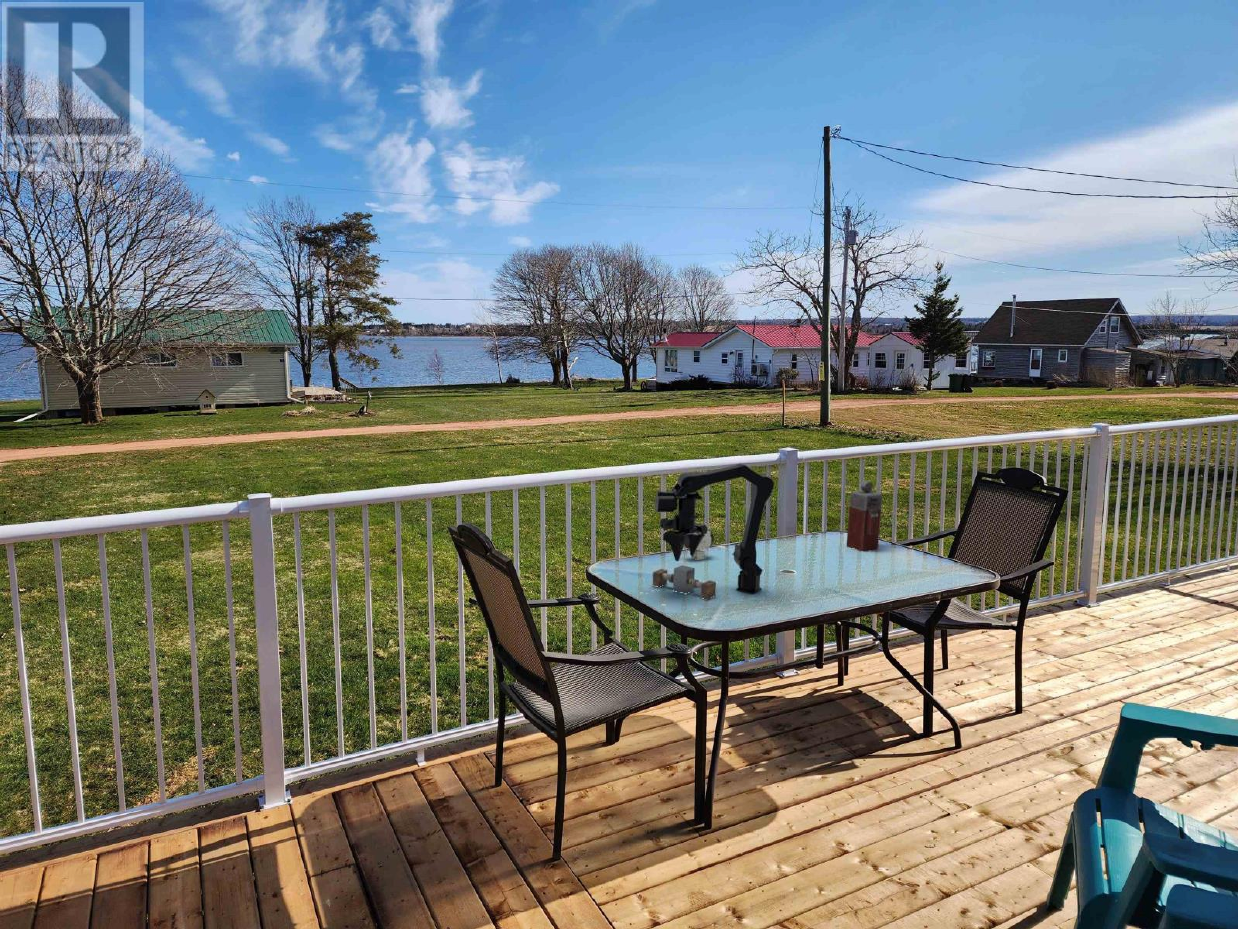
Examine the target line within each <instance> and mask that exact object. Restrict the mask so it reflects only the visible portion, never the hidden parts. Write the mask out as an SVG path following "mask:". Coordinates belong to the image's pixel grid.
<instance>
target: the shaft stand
mask: <svg viewBox="0 0 1238 929" xmlns="http://www.w3.org/2000/svg"><path fill="white" fill-rule="evenodd" d="M673 580H674V573H670V574H669V573H668V570H667V569H663V568H660V569H657V570H655V571H653V572H652V586H653V585H654V586H658V587H660V586H662V585H664V586H667V585H666V584H668V582H669V583H671V584H673ZM716 586H717V582H716V581H715V580H707V581H704V582H701V581H700V580H699V579H695V578H694V581H693V583H692V587H693V588H694V590H697V589H699V590H700V589H701V590H700V599H701V598H704V599H709V600H711V599H712V598H711V597H713V596H715V597H716V591H717V589H716V588H717V587H716ZM662 587H663V586H662ZM660 588H661V587H660ZM710 598H711V599H710ZM713 598H714V597H713ZM704 599H703V600H704Z"/></svg>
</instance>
